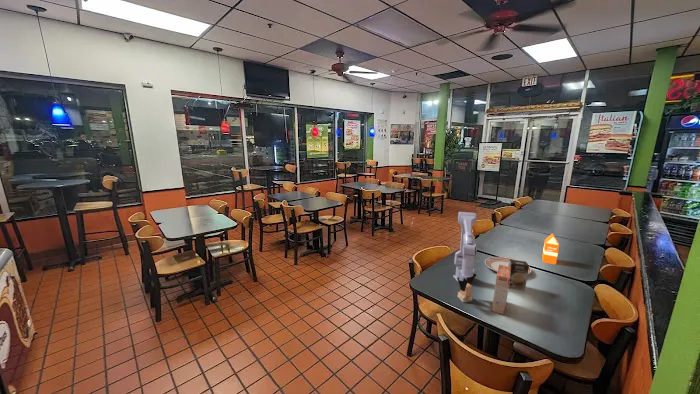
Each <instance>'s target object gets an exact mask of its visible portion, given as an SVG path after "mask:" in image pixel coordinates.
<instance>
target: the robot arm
mask: <svg viewBox="0 0 700 394" xmlns="http://www.w3.org/2000/svg"><path fill="white" fill-rule="evenodd" d="M476 222H477V213H476V212H468V211H467V212H465V211H458V215H457V224H458V225H460V226H461V229H460V230H461V232H460V233H461V235H460V244H459V245H460V246H459V248H460V249H459V250H458V251H456V252H455V254H454V261H453V262H454V263H453V264H454V265H455V266H456V267H455V274H453V275H452V276H453V278H454V279H455V280H456V281H457V283H458V284H459V285H458V286H459V288H460V289H459V291H460V290H461V291H465V289H466V285H467V283H469V284H470V285H472V284H473V281H474V280H475V278H476V277H477V274H476V273H475V270H476V269H475V268H474V266H475V258H476V256H477V251H478V249H477V244H476V240H475V234H474V233H473V226H475V224H476ZM472 286H473V285H472Z"/></svg>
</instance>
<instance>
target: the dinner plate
mask: <svg viewBox="0 0 700 394" xmlns="http://www.w3.org/2000/svg"><path fill="white" fill-rule="evenodd" d="M509 259H511V260H516V259H515V258H510V257H504V256H493V257H488V258H486V259H485V260H484V264H485V266H486V267H488V269H491V270H492V271H494V272H496V273H497V272H498V268H499V265H503V266H508V264H509ZM531 273H532V268H531V267H530V266H529V269H528V275H529V274H531Z"/></svg>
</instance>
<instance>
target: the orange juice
mask: <svg viewBox="0 0 700 394" xmlns="http://www.w3.org/2000/svg"><path fill="white" fill-rule="evenodd" d="M559 248H560V244H559V241H558V240H557V238H556V237H555V234H553V233H551V234H550V235H548V236H547V237H546V238H544V244H543V250H542V257H541V259H542V263H546V264H552V265H556V264H557V259H558V254H559Z"/></svg>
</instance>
